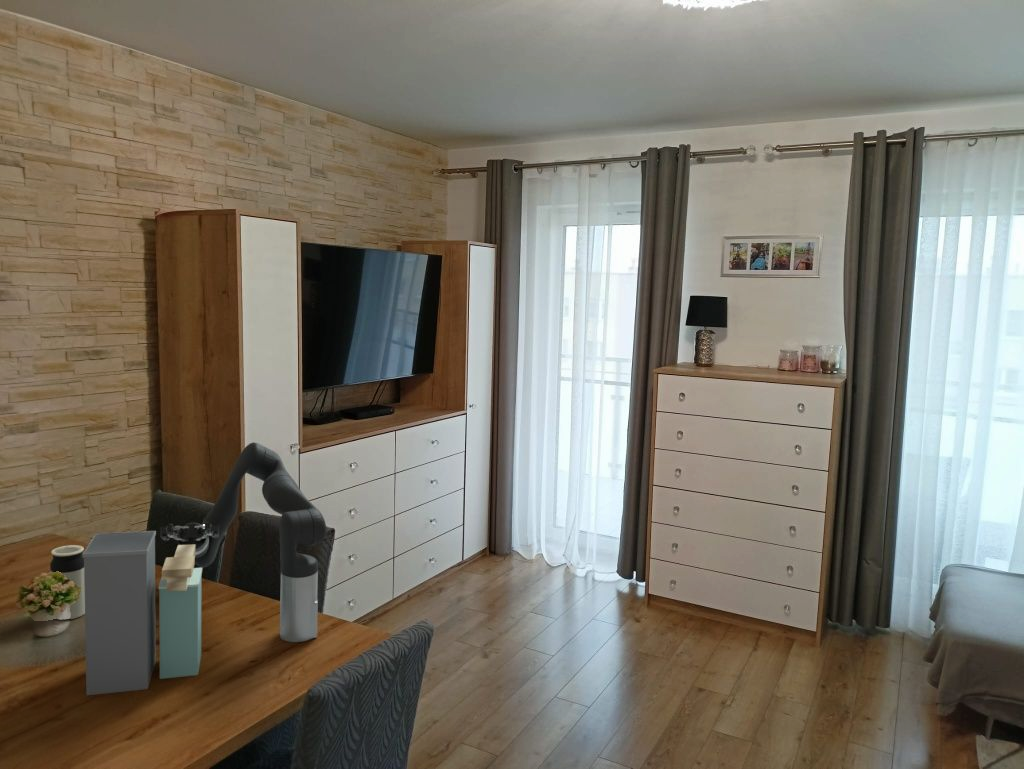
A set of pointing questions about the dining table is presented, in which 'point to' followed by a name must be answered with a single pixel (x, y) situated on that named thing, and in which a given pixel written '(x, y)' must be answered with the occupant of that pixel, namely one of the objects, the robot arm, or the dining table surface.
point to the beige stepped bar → (179, 568)
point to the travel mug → (71, 572)
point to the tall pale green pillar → (180, 628)
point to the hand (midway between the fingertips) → (188, 526)
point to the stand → (120, 611)
